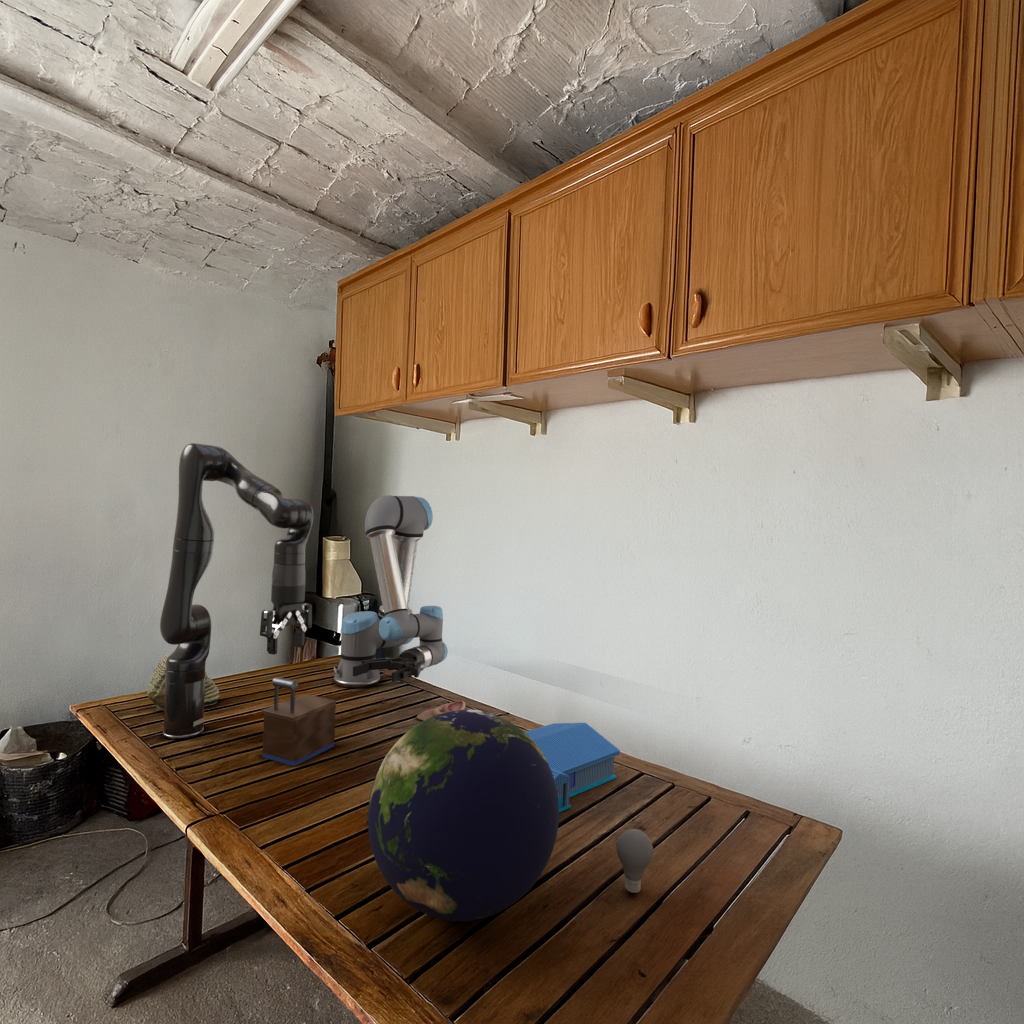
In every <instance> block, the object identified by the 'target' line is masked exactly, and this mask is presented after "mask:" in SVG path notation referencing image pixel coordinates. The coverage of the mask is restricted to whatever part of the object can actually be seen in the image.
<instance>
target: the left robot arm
mask: <svg viewBox="0 0 1024 1024" xmlns="http://www.w3.org/2000/svg"><path fill="white" fill-rule="evenodd" d="M204 482H220V483H223V484H225V485H228V486H231V487H232V488H233V489H234V490H235V493H236V495H237V496H238V497H239V499H240V500H241V501H242V502H244V503H245V504H247V505H248V506H250V507H251V508H253V509H254V510H256V511H258V512H259V513H260V514H261V516H262V517H263V518H264V519H265V520H266V522H267V523H268V524H269V525H271V526H273V527H275V528H278V529H287V532H286V533H285V536H284V537H281V538H278V539H277V540H276V541H275V543H274V546H273V566H272V572H271V592H270V601H271V603H272V604H273V605H272V610H267V609H262V611H261V615H260V627H259V636H261V637H264V638H266V651H267V653H268V655H273V656H274V655H277V654H278V644H279V643H278V639H279V638H278V636H279V635H280V633H281V631H283V630H284V628H285V627H288V626H293V628H294V629H295V631H294V647H295V648H303V647H304V645H305V639H306V637H305V635H306V631H307V629H311V628H312V626H313V611H312V610H313V605H312V603H308V602H307V603H306V602H305V600H306V599H305V597H306V546H307V542H308V541H309V537H310V534H311V530H312V527H313V523H314V518H315V517H314V510H313V507H312V504H311V503H310V502H309V501H308V500H307V499H303V498H284V496H283V493H282V491H281V490H280V489H279V488H278V487H276V486H274V485H273V484H271V483H269V482H268V481H266V480H264V479H262V478H261V477H259V476H258V475H256V474H254V473H253V472H252V471H250V470H249V469H248V468H247V467H245V465H243V464H242V463H240V462H239V460H237V459H236V458H235V457H234V456H233V455H232V454H231V453H230V452H229V451H227V450H226V449H224V448H223V447H221V446H217V445H211V444H204V443H198V442H197V443H195V442H193V443H192V442H190V443H187V444H186V445H185V446H184V447H183V448H182V451H181V454H180V456H179V461H178V500H177V513H176V521H175V527H174V534H173V542H172V554H171V563H170V570H169V577H168V583H167V589H166V593H165V598H164V602H163V607H162V611H161V615H160V621H159V631H160V634H161V637H162V639H163V640H164V641H165V643H167V644H168V645H172V646H176V645H177V646H176V647H175V649H174V650H173V652H172V653H170V654H169V655H170V656H169V657H168V658H167V660H166V674H165V705H164V710H163V731H162V737H164V738H166V739H169V740H185V739H190V738H191V739H192V738H194V737H197V736H199V735H202V734H203V732H204V730H205V729H204V722H205V706H204V693H205V672H206V664H207V663H206V662H207V659H208V657H209V654H210V649H211V639H212V617H211V614H210V612H209V610H208V609H207V608H206V607H205V606H203V605H201V604H196V603H195V604H194V603H193V601H194V595H195V592H196V589H197V586H198V585H199V582H200V581H201V579H202V577H203V576H204V574H205V572H206V570H207V569H208V566H209V565H210V563H211V561H212V557H213V550H214V544H215V529H214V525H213V524H212V521H211V519H210V517H209V514H208V513H207V510H206V507H205V505H204V501H203V485H204Z"/></svg>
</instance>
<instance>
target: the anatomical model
mask: <svg viewBox="0 0 1024 1024" xmlns="http://www.w3.org/2000/svg"><path fill="white" fill-rule="evenodd" d="M465 708H466V703H465V701H464V700H456V701H452V702H448V703H445V704H443V705H440V706H437V707H434V708H431V709H427V710H424V711H423V712H420V713H419V714H417V716H416V718H417V719H418V720H420V721H422V722H423V721H425V720H427V719H429V718H431V717H433V716H436V715H439V714H442V713H445V712H450V711H457V710H466V709H465Z"/></svg>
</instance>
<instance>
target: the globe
mask: <svg viewBox="0 0 1024 1024" xmlns="http://www.w3.org/2000/svg"><path fill="white" fill-rule="evenodd" d="M525 732H526V731H524V730H523V729H521V727H519V726H517V725H516V724H514V723H513V722H511V721H510V720H508V719H506V718H504V717H501V716H499V715H497V714H495V713H492V712H487V711H483V710H479V709H464V710H457V711H450V712H445V713H442V714H439V715H436V716H433V717H431V718H429V719H427V720H425V721H423V720H422V721H421V722H419V723H418V724H417V725H414V726H413V727H412V728H411V729H409V730H408V731H407V732H405V734H403V735H402V736H401V737H400V738H399V739H398V740H397V741H396V742H395V743H394V745H392V747H391V748H390V750H389V751H388V753H387V754H386V755H385V757H384V758H383V760H382V762H381V764H380V766H379V768H378V770H377V772H376V775H375V778H374V780H373V783H372V787H371V791H370V793H369V800H368V801H369V802H368V809H367V829H368V831H367V832H368V838H369V843H370V847H371V852H372V855H373V857H374V860H375V863H376V865H377V867H378V869H379V871H380V873H381V874H382V876H383V878H384V880H385V881H386V883H387V885H389V886H390V888H391V889H392V890H393V891H394V892H395V894H397V896H399V897H400V898H401V900H403V902H405V903H406V904H408V905H409V906H410V907H412V908H414V909H415V910H417V911H419V912H421V913H423V914H425V915H428V916H430V917H432V918H436V919H440V920H443V921H448V922H449V921H450V922H471V921H477V920H482V919H486V918H488V917H491V916H494V915H496V914H499V913H501V912H502V911H505V910H506V909H508V908H510V907H511V906H512V905H514V904H515V903H517V902H518V901H519V900H520V899H521V898H522V897H524V896H525V895H526V894H527V893H528V892H529V891H530V890H531V889H532V888H533V886H534V885H535V884H536V883H537V881H538V880H539V879H540V877H541V876H542V874H543V872H544V870H545V869H546V867H547V865H548V863H549V860H550V858H551V856H552V853H553V851H554V847H555V845H556V840H557V835H558V832H559V823H560V812H559V801H558V793H557V788H556V784H555V780H554V777H553V774H552V771H551V769H550V766H549V764H548V761H547V760H546V758H545V756H544V754H543V753H542V751H541V750H540V748H539V747H538V746H537V744H536V743H535V742H534V741H533V740H532V739H531V738H530V737H529V736H528V735H527V734H526V733H525Z"/></svg>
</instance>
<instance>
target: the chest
mask: <svg viewBox="0 0 1024 1024" xmlns="http://www.w3.org/2000/svg"><path fill="white" fill-rule="evenodd" d="M336 708H337V703H336V704H335V705H333V706H330V707H328V708H325V709H323V710H320V711H318V712H316V713H313V714H311V715H308V716H306V717H303V718H301V719H299V720H296V721H294V722H293V721H289V720H285V719H281V718H277V717H272V716H268V715H264V714H263V728H262V729H263V730H262V731H263V732H262V733H263V734H262V755H261V757H262V758H264V759H267V760H271V761H275V762H278V763H281V764H285V765H288V766H292V767H296V766H298V765H300V764H302V763H304V762H307V761H309V759H313V758H314V757H316V756H318V755H320V754H322V753H324V752H326V751H328V750H330V749H332V748H334V747H335V743H336V742H335V740H336V739H335V735H336V715H337V713H336V712H337V711H336Z"/></svg>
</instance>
